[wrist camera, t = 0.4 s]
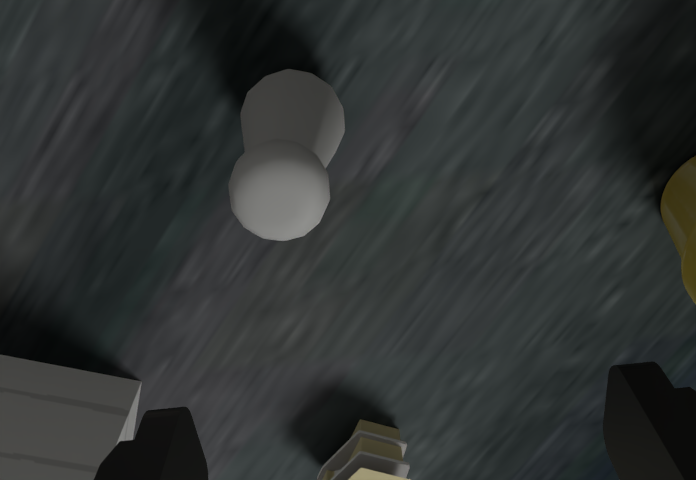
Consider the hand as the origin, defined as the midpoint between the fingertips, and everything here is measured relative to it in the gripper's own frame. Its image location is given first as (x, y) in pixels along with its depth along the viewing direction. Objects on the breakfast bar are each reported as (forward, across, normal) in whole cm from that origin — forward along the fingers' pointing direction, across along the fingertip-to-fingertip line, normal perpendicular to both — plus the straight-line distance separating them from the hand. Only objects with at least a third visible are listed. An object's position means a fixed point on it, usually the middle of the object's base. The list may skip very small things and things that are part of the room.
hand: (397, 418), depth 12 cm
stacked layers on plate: (+28, +3, +30) cm, 41 cm away
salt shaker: (+28, +4, +2) cm, 28 cm away
